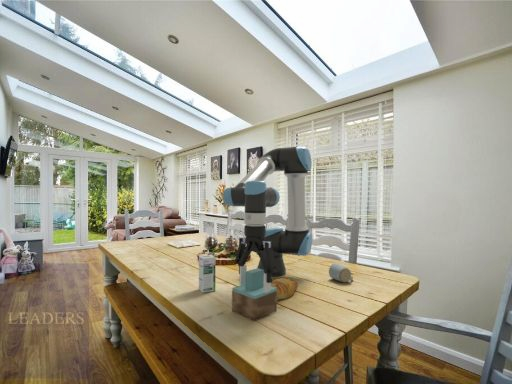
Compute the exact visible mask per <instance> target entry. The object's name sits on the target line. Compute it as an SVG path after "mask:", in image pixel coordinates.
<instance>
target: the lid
mask: <svg viewBox="0 0 512 384" xmlns="http://www.w3.org/2000/svg"><path fill="white" fill-rule="evenodd" d="M232 291H234V292H237V293H240V294H242V295H245V296H248V297H251V298H253V299H257V298H259V297H262V296H264V295H267V294H270V293H272V292H275V291H277V288H275V287H272V286H271V291H270V292H267V293H264V270H262V269H258V268H255V269H254V268H253V269H250V270H246V280H245V284H243V285H240V284H239V285H238V286H233V287H232V290H231V292H232Z"/></svg>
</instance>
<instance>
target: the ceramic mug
mask: <svg viewBox="0 0 512 384" xmlns="http://www.w3.org/2000/svg"><path fill="white" fill-rule="evenodd" d="M328 269H329V270H328V274H329V276H330V278H331V279H333V280H336V281H338V282H340V283H347V282H349V281H350V280H351V281H353V279H354V277H353V276H352V272H351V270H350V269H349V268H348V267H347V266H344V265H342V264H340V263H336V262H334V263H332V264H331V265H330V266H329V268H328Z"/></svg>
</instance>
